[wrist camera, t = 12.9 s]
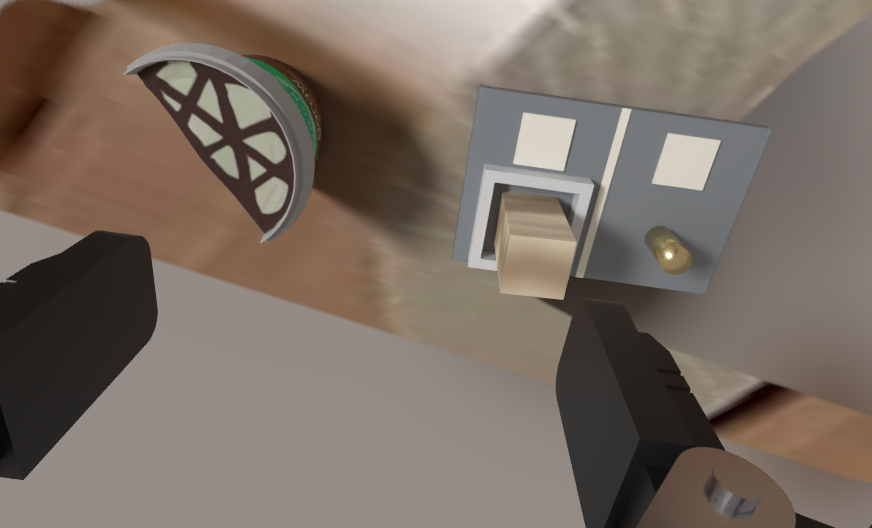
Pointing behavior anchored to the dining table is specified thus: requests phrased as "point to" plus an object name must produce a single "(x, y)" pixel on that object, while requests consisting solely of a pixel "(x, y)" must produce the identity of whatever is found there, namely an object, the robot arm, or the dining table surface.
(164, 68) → the food container
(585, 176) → the board
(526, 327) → the dining table surface
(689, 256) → the pin
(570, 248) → the square pin
